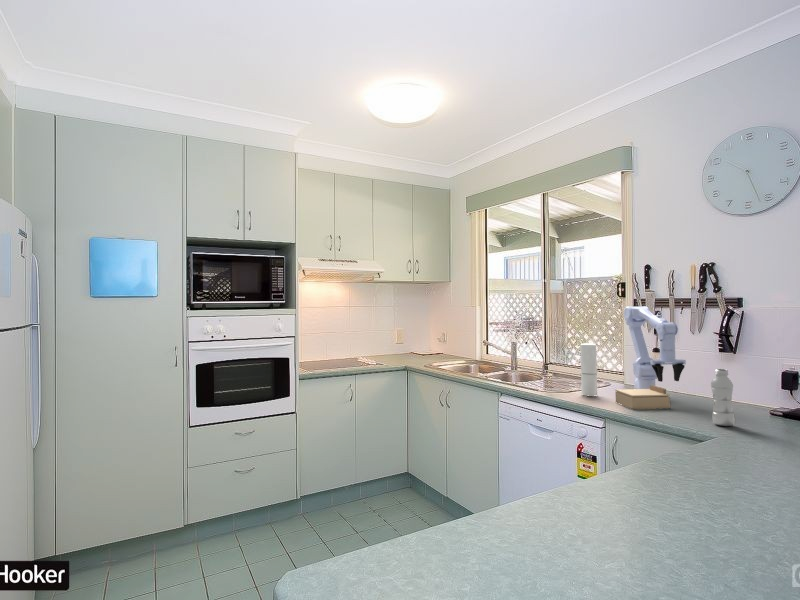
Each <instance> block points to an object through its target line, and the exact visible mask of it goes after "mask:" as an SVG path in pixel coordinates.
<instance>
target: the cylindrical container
mask: <svg viewBox="0 0 800 600" xmlns="http://www.w3.org/2000/svg"><path fill="white" fill-rule="evenodd" d="M579 346H580V347H579V348H580V375H581V376H580V378H581V379H580V381H581V382H580V384H581V385H580V386H581V388H580V389H581V395H582V394H583V395H589V396H594V395H597V396H598V374H597V373H598V370H597V369H598V367H597V361H598V360H597V344H596V343H580V345H579Z"/></svg>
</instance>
